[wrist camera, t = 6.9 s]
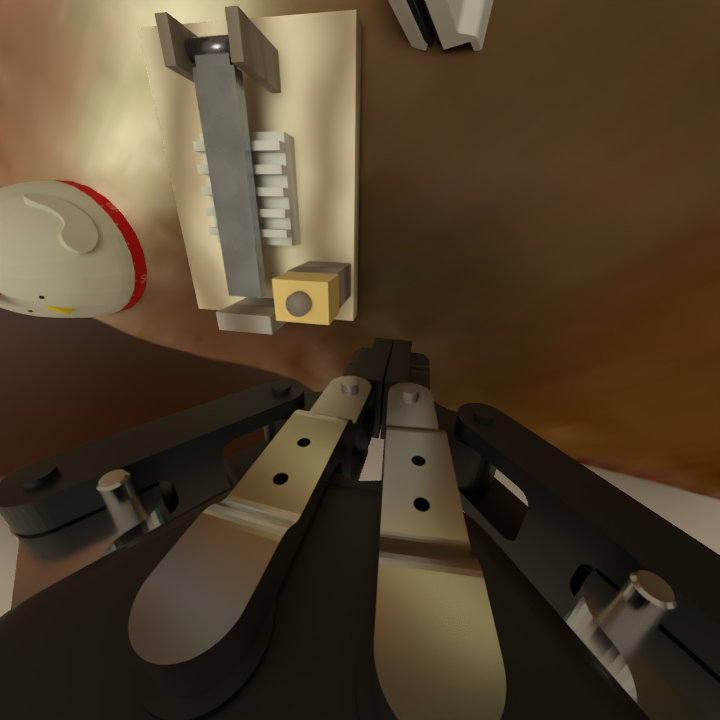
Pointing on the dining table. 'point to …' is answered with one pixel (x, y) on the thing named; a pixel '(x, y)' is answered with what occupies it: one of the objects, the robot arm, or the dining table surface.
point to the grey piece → (443, 21)
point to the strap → (229, 162)
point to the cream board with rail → (269, 150)
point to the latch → (306, 297)
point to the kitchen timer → (66, 252)
